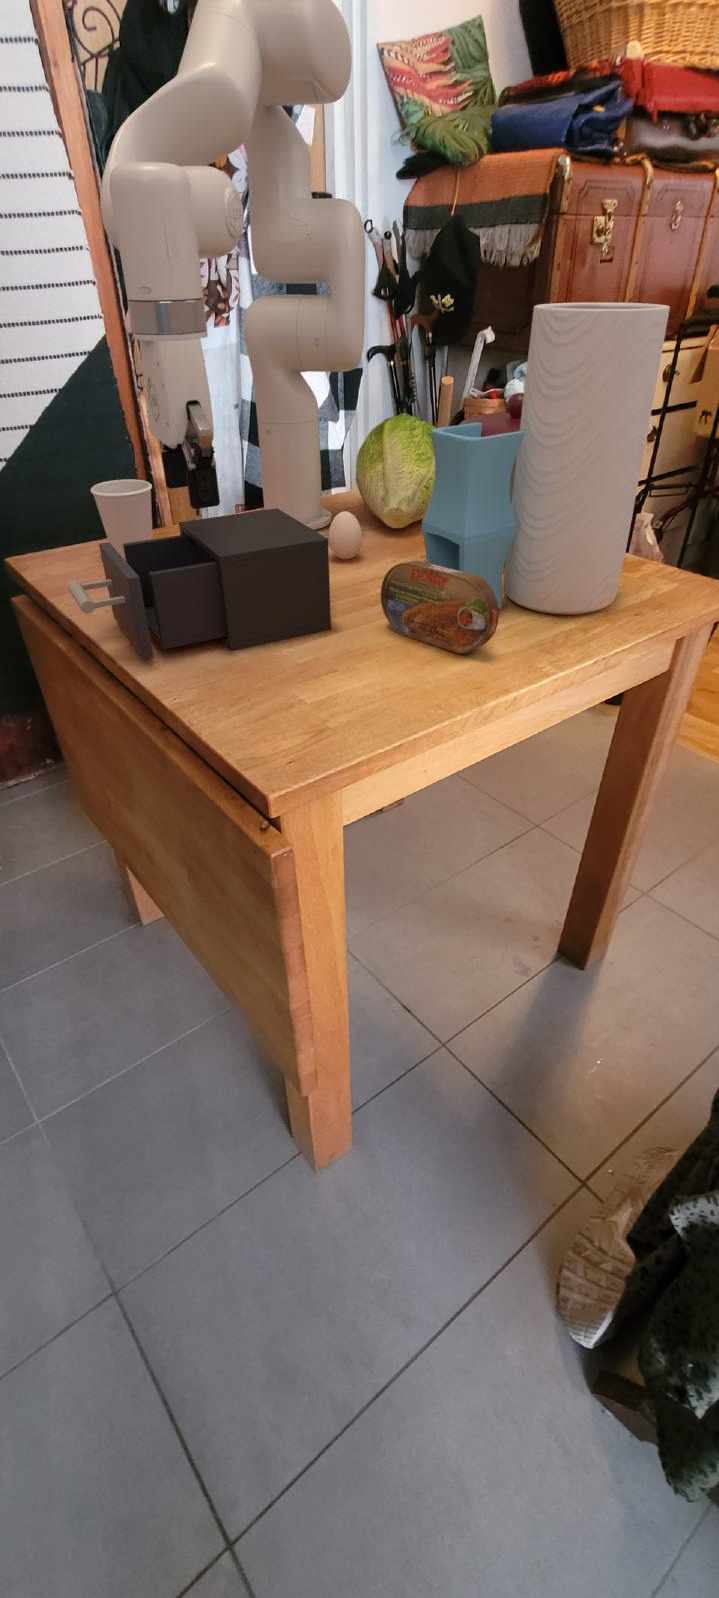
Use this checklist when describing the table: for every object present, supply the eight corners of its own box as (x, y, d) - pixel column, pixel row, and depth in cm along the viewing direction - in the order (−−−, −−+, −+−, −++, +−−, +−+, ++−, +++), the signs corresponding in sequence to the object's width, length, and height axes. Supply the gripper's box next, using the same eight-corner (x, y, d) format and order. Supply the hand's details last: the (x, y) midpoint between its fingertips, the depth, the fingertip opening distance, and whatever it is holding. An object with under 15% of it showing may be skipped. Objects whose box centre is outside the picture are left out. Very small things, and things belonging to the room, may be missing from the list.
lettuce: (447, 564, 124) (352, 572, 127) (456, 476, 137) (370, 485, 141) (436, 482, 112) (332, 493, 115) (448, 394, 125) (354, 406, 129)
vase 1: (507, 606, 96) (525, 431, 84) (459, 620, 92) (471, 440, 81) (466, 588, 101) (478, 421, 90) (419, 600, 98) (425, 429, 86)
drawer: (98, 668, 80) (79, 586, 75) (73, 624, 90) (55, 549, 85) (243, 638, 87) (235, 560, 81) (205, 600, 96) (196, 528, 91)
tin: (378, 627, 91) (379, 556, 86) (395, 619, 93) (397, 549, 88) (482, 663, 83) (489, 587, 78) (499, 654, 84) (507, 579, 80)
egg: (322, 560, 111) (320, 512, 107) (341, 551, 114) (341, 505, 111) (349, 566, 109) (348, 518, 105) (368, 557, 112) (368, 510, 108)
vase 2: (543, 625, 91) (587, 310, 73) (481, 587, 102) (505, 304, 83) (640, 606, 95) (703, 306, 77) (570, 571, 106) (612, 300, 88)
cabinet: (230, 650, 86) (219, 556, 80) (190, 608, 96) (178, 522, 90) (331, 629, 91) (328, 538, 84) (282, 590, 101) (277, 507, 95)
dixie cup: (104, 568, 109) (90, 495, 103) (104, 551, 116) (90, 481, 110) (164, 563, 111) (153, 490, 105) (160, 546, 117) (150, 477, 112)
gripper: (112, 317, 83) (141, 483, 93) (154, 329, 70) (182, 520, 80) (180, 313, 85) (201, 476, 95) (232, 325, 73) (249, 510, 83)
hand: (192, 496), depth 88 cm, fingers open, 9 cm apart
